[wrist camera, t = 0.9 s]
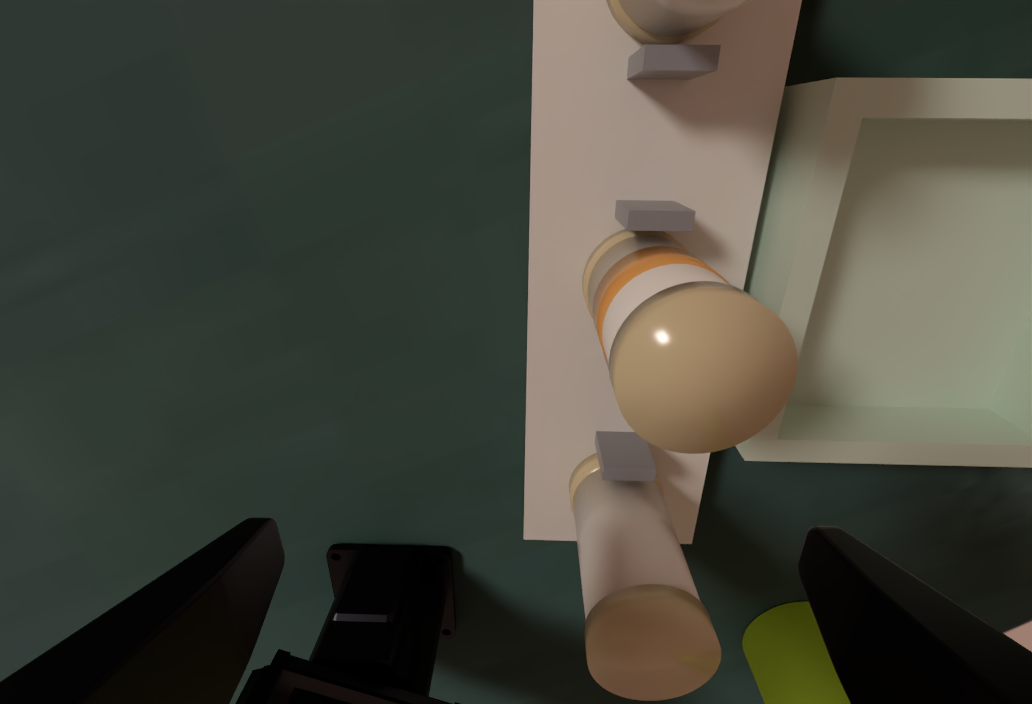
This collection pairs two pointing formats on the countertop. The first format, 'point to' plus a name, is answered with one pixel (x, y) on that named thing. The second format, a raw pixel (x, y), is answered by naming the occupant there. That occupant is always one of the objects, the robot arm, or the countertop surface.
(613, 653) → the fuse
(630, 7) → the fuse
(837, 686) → the soap dispenser
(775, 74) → the fuse holder
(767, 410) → the fuse marked
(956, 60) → the countertop surface
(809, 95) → the tray
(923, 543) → the countertop surface
